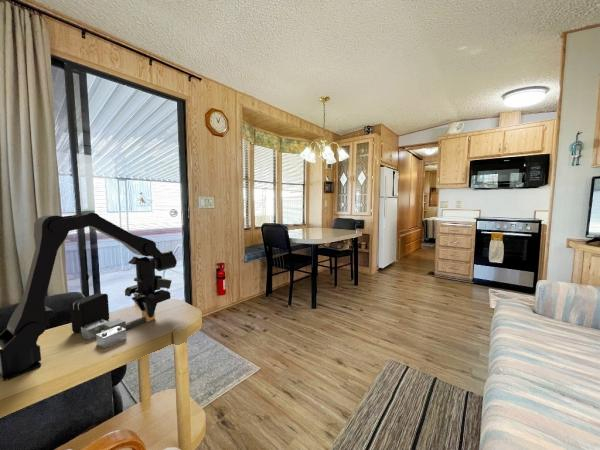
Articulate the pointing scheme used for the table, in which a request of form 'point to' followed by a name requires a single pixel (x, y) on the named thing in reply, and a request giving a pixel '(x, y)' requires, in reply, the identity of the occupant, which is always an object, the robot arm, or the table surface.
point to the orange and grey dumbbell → (131, 324)
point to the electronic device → (89, 311)
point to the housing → (103, 333)
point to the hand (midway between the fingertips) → (148, 316)
